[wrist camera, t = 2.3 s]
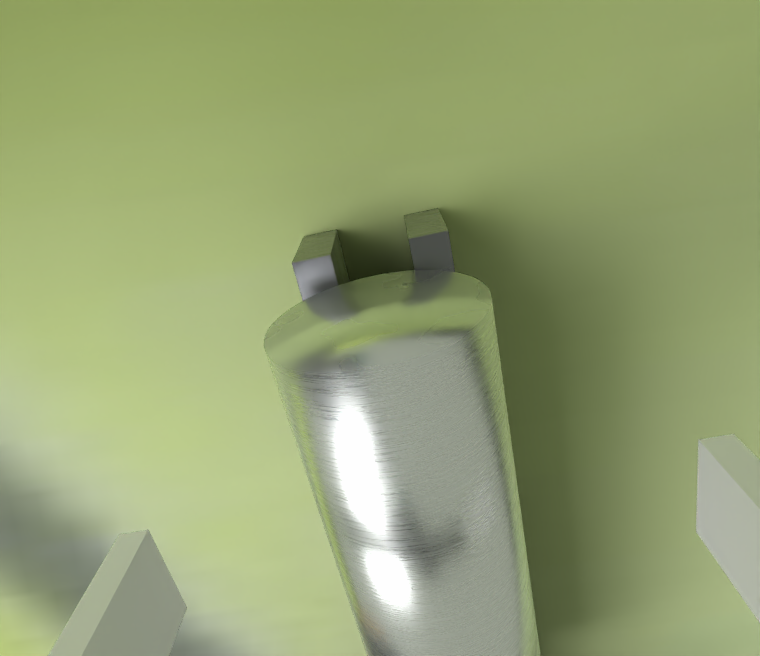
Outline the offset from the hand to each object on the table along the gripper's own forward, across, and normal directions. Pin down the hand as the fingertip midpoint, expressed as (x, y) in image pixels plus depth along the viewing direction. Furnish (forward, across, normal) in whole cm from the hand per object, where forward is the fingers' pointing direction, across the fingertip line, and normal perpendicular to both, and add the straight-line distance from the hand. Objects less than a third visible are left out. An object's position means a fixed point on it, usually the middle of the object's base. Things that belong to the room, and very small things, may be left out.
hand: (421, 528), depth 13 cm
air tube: (+6, 0, -6) cm, 9 cm away
